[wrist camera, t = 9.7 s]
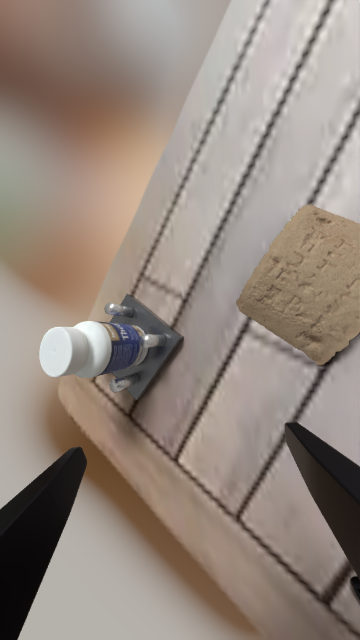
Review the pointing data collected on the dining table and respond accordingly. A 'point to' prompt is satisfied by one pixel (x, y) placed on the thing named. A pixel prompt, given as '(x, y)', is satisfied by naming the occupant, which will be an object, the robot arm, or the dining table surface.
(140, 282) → the dining table surface
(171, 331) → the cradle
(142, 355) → the pill bottle
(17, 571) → the robot arm
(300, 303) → the clay tablet
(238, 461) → the dining table surface
